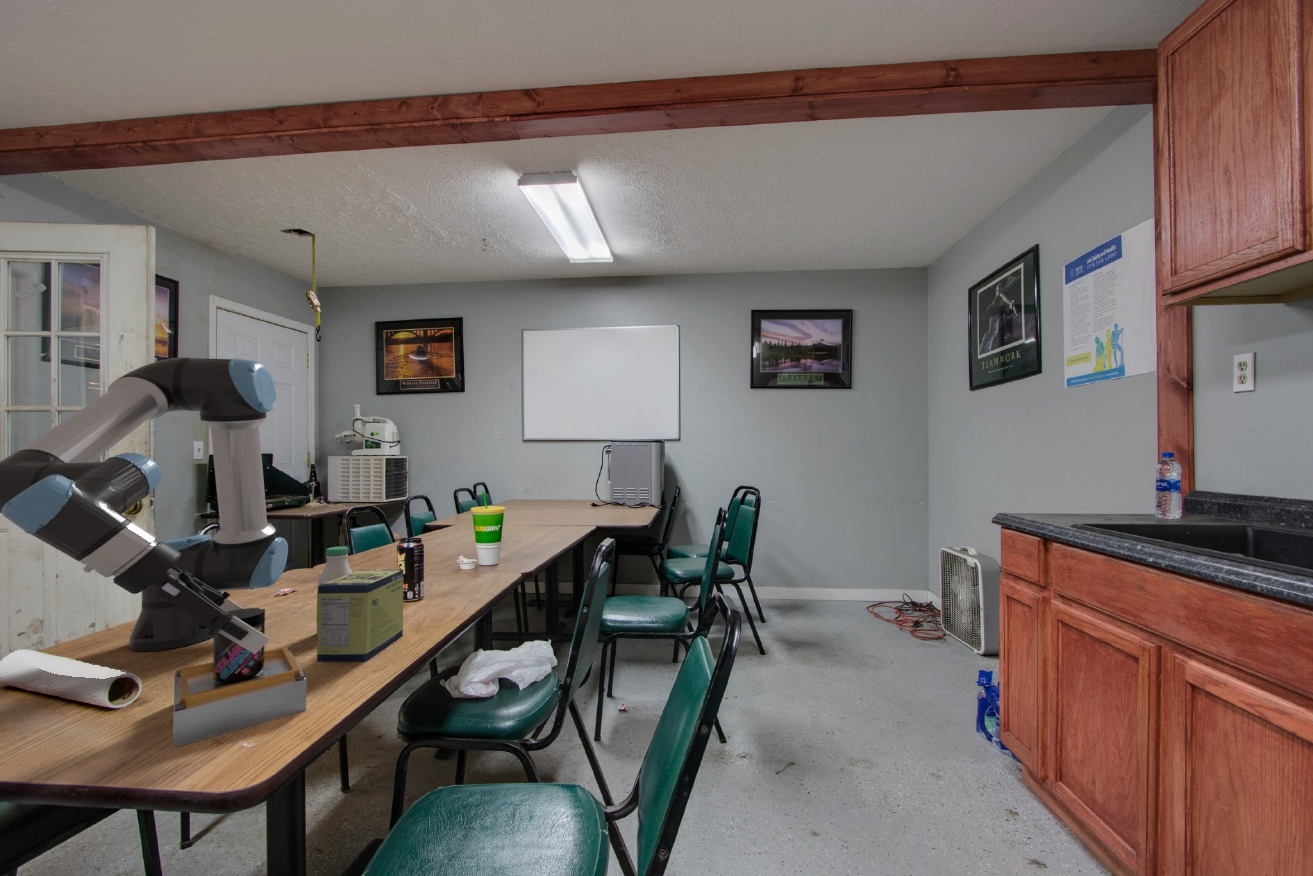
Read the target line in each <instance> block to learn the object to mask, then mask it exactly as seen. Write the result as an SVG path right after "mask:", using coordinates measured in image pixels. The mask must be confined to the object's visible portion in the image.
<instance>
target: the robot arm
mask: <svg viewBox="0 0 1313 876" xmlns="http://www.w3.org/2000/svg"><path fill="white" fill-rule="evenodd" d="M276 391H277V389H276V385H275V382H274V379H273V376H272V375H271V373H270V371H268V369H267V367H266V366H264V365H263V364H262V363H261V362H258V361H255V360H249V359H242V358H241V359H239V358H207V357H206V358H205V357H204V358H203V357H202V358H201V357H200V358H199V357H198V358H197V357H185V356H184V357H173V358H172V357H171V358H167V359H162V360H157V361H155V362H152V363H149V364H145V365H143V366H139V367H138V368H136V369H134V370H131V371H129V372H127V373H125V374H123V375H122V376H120V377H118V378H117V379H116V380H114V381H112V382H111V383H110V384H109V385H108V387H107V392H106V393H104V394H103V395H102V396H100V397H98V398H97V399H95V400H94V401H92V402H90V403H89V404H87V405H86V406H84V407H83V408H82V409H80V410H77V412H74V414H72V415H70V416H69V417H67V418H66V419H64V420H63V421H61V422H60V423H58V424H57V425H55V426H54V427H52V428H51V429H48V430H47V431H46V432H44V433H43V434H41V435H40V436H38V437H37V438H35V439H34V440H32V441H30V442H29V443H27V444H25V445H23V447H21V448H19V449H18V450H16V451H15V452H13V453H12V454H10V455H9V456H7V457H5V458H4V459H2V460H1V461H0V514H2V515H3V517H5V518H6V519H7V520H9V521H10V522H11V523H13V524H14V525H16V526H17V527H19V528H20V529H21V530H23V531H24V533H26V534H28V535H32V536H33V537H35V538H36V539H39V540H41V541H42V542H44V543H46V544H47V545H49V546H51V547H53V548H55V549H57V550H58V551H60V552H61V553H63V554H64V555H67V556H68V557H70V558H72V559H74V560H75V561H77V562H80V563H81V564H82V565H85V566H84V567H83V568H82V569H83V571H84V572H85V573H91V572H93V570H95V571H94V572H96V573H98V574H99V575H101V576H103V577H104V578H110V577H112V576H113V579H112V581H113V584H115V585H116V586H119V588H122V589H123V590H125V591H127V592H129V593H130V594H133V595H137V594H139V593H141V607H140V608H141V609H140V613H139V616H138V618H137V619H136V622H135V624H134V627H133V629H132V630H131V633H130V636H129V638H128V640H129V642H128V648H129V650H131V651H136V652H153V651H163V650H169V649H175V648H179V647H180V648H181V647H185V646H190V645H192V644H196V643H199V642H200V643H201V642H203V641H206V640H209V639H211V638H214V635H216V634H217V633H218V632H219V633H220V634H222V635H224V636H225V637H227V638H229V639H230V640H232V641H234V642H235V643H237V644H239V645H240V646H242V647H244V648H245V649H247V650H249V651H250V652H252V653H253V654H256V653H257V652H258V651H259V650H260V649H261V648H262V647H263V646H264V647H265V645H266V644H267V643H268V642H269V641H270V640H271V638H270V637H268V636H267V635H264V634H262V633H261V632H259V631H258V630H256V629H254V628H253V627H251V626H250V625H248V624H246V623H245V622H243V621H242V620H240V619H238V618H237V617H235V616H233V617H232V615H230V614H228V613H226V612H228V611H233V610H238V609H244V607H242V606H240V605H239V604H237V603H235V601H233V600H231V599H230V598H229V597H230V596H231V594H230V593H229V592H228V591H238V590H240V591H241V590H250V591H251V590H256V589H262V588H270V587H271V586H273V585H274V584H276V583H277V582H278V581H279V579H280V578H281V576H282V574H283V572H284V569H285V567H286V564H287V559H288V554H289V545H288V542H287V539H286V538H284V537H282V536H277V531H276V528H275V527H274V526H273V525H271V524H269V523H268V519H267V517H268V515H267V506H266V493H265V492H266V491H265V483H264V482H265V481H264V479H265V478H264V469H263V458H262V457H263V456H262V445H261V434H260V425H261V424H262V423H264V422H265V420H266V419H267V413H268V412H271V411H272V410H274V409H275V406H276V400H277V392H276ZM177 411H179V412H180V411H181V412H182V411H189V412H191V411H192V412H197V411H198V412H199V416H200V422H202V423H203V424H204V425H206V426H207V427H209V428H210V433H211V436H210V437H211V445H212V455H213V464H214V467H213V468H214V474H215V475H214V477H215V485H216V487H215V488H216V493H217V494H216V495H217V503H218V504H217V505H218V506H217V507H218V514H219V524H220V525H219V526H220V530H219V531H217V532H216V534H215V535H213V537H212V534H198V535H191V536H186V537H180V538H173V539H168V540H162V541H158V542H157V541H156V540H157V535H155V534H153V533H152V532H150V531H149V530H147V529H146V528H144V527H142V526H141V525H140V524H138V523H137V522H135V521H132V520H131V519H129V518H128V517H127V516H125V515H123V514H124V513H125V512H126V511H128V510H129V509H130V508H132V507H133V506H134V505H136V504H137V503H139V502H140V501H141V500H144V499H146V498H147V497H148V496H149V495H150V493H152V491H153V490H154V489H156V488H157V487H158V485H159V484H160V482H161V480H162V472H161V470H160V467H159V465H158V464H157V463H156V461H154V460H153V459H152V458H150V457H149V456H145V455H144V454H141V453H135V452H123V453H119V454H116V455H113V456H110V457H109V458H107V459H105V460H104V461H99V462H97V461H96V460H97V459H99V458H100V457H101V456H102V455H104V454H105V453H106V452H108V451H109V450H110V449H112V448H113V447H114V446H115V445H117V444H118V443H119V442H120V441H122V440H123V439H124V438H126V437H127V436H128V435H129V434H131V433H132V432H133V431H134V430H136V429H137V428H139V427H140V426H141V425H142V424H143V423H145V422H146V421H149V420H155V419H158V418H160V417H162V416H163V415H164V414H165V413H169V412H177ZM95 461H96V462H95ZM208 638H209V639H208ZM184 645H185V646H184Z"/></svg>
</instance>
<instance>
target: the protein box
mask: <svg viewBox="0 0 1313 876" xmlns="http://www.w3.org/2000/svg"><path fill="white" fill-rule="evenodd" d="M317 590H318V629H317V628H316V635H317V636H316V639H317V643H316V661H317V662H367V661H368V660H369V659H371V658H373V657H374V656H375V655H378V654H379V653H380V652H382V651H383V650H384V649H386V648H387V647H389V646H390V645H392V644H393V643H395V642H397V641H398V640H399V639H400V638H402V637H403V636H404V635H403V634H404V633H403V631H404V630H403V629H404V569H403V568H402V569H358V570H356V571H352V573H350V574H348V575H345V576H342V577H340V578H337V579H334V580H332V581H329V582H326V583H323V584H321V585H319V586H318V585H317Z"/></svg>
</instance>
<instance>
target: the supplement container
mask: <svg viewBox="0 0 1313 876" xmlns="http://www.w3.org/2000/svg"><path fill="white" fill-rule="evenodd" d="M226 613H228V614H230V615H232V617H233V616H235V617H237V618H238V619H240V620H242V621H243V622H245V623H246V624H248V625H250V626H251V627H253V628H254V629H256V630H258V631H259V632H261V633H262V634H264V635H265V634H266V633H265V629H266V628H265V627H266V625H265V624H266V623H265V622H266V609H265V608H262V607H247V608H246V607H245V608H243V609H238V610H233V611H228V612H226ZM265 636H266V635H265ZM264 651H265V645H264V646H263V647H262V648H261V649H260V650H259V651H258V652H257V653H256V654H253V653H252V652H250V651H249V650H247V649H245V648H244V647H242V646H240V645H239V644H237V643H235V642H234V641H232V640H230V639H229V638H227V637H225V636H224V635H222V634H220V633H219V632H218V633H217V634H216V635H214V636H213V651H212V652H213V655H212V656H213V657H212V658H213V659H212V660H213V661H212V662H213V680H214V681H215V682H216V683H218V684H235V683H240V682H244V681H247V680H250V679H252V678H255V677H257V676H258V675H260V674H261V673H262V671H263V669H264Z"/></svg>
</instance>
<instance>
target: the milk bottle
mask: <svg viewBox="0 0 1313 876" xmlns="http://www.w3.org/2000/svg"><path fill="white" fill-rule="evenodd" d="M348 554H349V547H348V546H332V547H328V548H326V549H325V559H326V562H325V566H324V568H323V571H322V572H321V574H320V577H319V579H318V583H317V587H318V586H319V585H321V584H323V583H326V582H329V581H332V580H334V579H337V578H340V577H342V576H345V575H348V574H350V573H353V571H352V569H351V567H350V565H349V562H348V556H349V555H348ZM316 596H317V597H316V630H317V629H318V589H317V591H316Z"/></svg>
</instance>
